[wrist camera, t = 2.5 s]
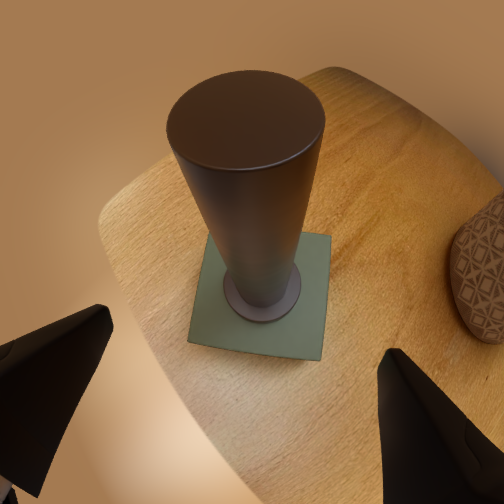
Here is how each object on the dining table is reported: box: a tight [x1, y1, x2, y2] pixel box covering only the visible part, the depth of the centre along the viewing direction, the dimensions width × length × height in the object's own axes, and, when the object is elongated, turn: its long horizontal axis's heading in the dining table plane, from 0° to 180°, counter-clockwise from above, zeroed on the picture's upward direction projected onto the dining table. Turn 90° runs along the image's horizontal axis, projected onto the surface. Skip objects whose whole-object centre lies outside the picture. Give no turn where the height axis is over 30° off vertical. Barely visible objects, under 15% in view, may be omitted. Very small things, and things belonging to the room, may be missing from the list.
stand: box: [187, 232, 332, 361], centre depth 19 cm, size 8×8×4 cm
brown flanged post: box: [166, 70, 325, 324], centre depth 11 cm, size 4×4×13 cm
